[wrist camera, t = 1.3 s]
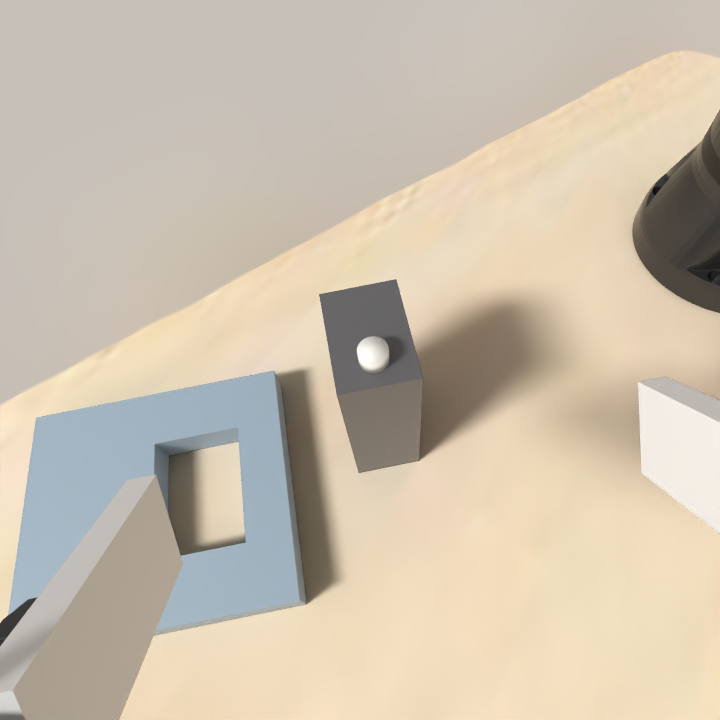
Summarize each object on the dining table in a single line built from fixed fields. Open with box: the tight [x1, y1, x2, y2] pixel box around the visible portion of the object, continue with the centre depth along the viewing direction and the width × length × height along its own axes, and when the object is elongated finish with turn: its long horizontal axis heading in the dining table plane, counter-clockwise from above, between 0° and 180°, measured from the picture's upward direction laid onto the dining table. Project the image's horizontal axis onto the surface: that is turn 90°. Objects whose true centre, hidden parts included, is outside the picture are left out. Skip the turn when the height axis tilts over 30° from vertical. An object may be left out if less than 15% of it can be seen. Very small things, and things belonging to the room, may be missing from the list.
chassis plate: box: [8, 371, 307, 635], centre depth 36 cm, size 18×16×2 cm
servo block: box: [319, 279, 423, 473], centre depth 33 cm, size 4×6×14 cm
